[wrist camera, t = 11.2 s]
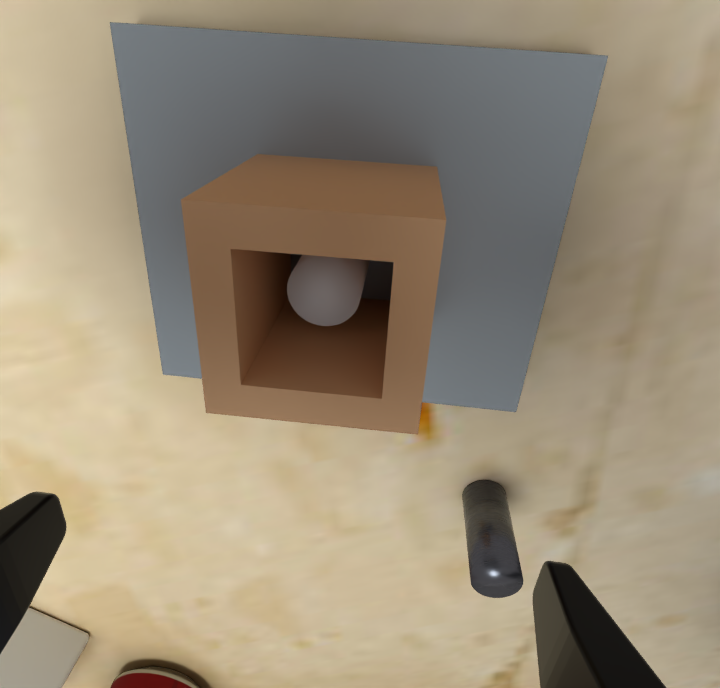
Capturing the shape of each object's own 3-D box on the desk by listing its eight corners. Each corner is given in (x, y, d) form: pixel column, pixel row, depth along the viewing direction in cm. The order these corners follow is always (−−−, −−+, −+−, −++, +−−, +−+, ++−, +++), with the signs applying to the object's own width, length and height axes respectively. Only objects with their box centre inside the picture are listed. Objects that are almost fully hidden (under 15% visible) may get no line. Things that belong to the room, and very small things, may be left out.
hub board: (591, 56, 15) (671, 54, 10) (509, 390, 21) (536, 487, 16) (134, 25, 16) (14, 10, 11) (178, 355, 22) (111, 438, 17)
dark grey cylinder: (509, 482, 24) (528, 567, 20) (501, 513, 24) (517, 600, 21) (466, 477, 24) (475, 561, 20) (459, 509, 25) (467, 594, 21)
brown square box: (436, 166, 16) (446, 220, 11) (417, 328, 19) (417, 434, 13) (257, 154, 16) (180, 199, 11) (264, 314, 19) (205, 412, 14)
